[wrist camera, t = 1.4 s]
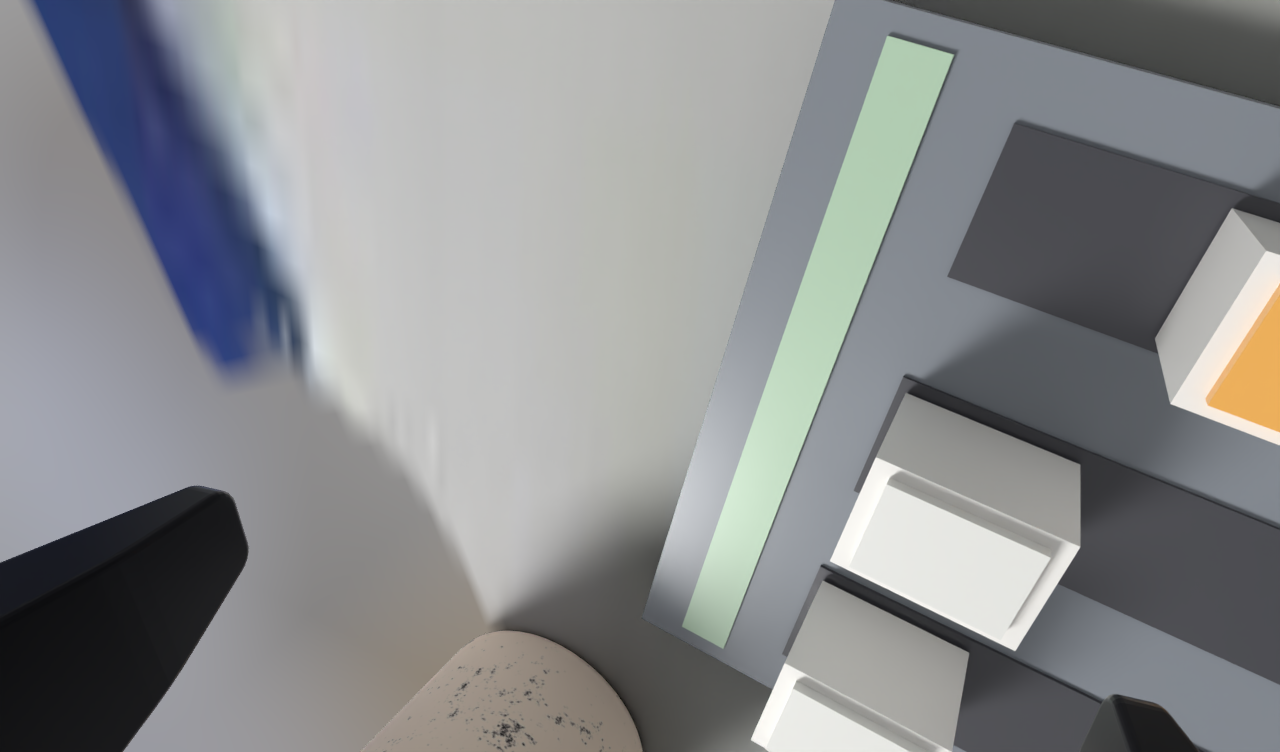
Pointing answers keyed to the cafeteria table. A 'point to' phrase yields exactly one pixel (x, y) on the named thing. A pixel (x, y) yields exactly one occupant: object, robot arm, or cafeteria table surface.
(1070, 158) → the panel
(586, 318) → the cafeteria table surface
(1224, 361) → the block
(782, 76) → the cafeteria table surface
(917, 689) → the block
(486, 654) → the teacup with lid
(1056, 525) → the block
